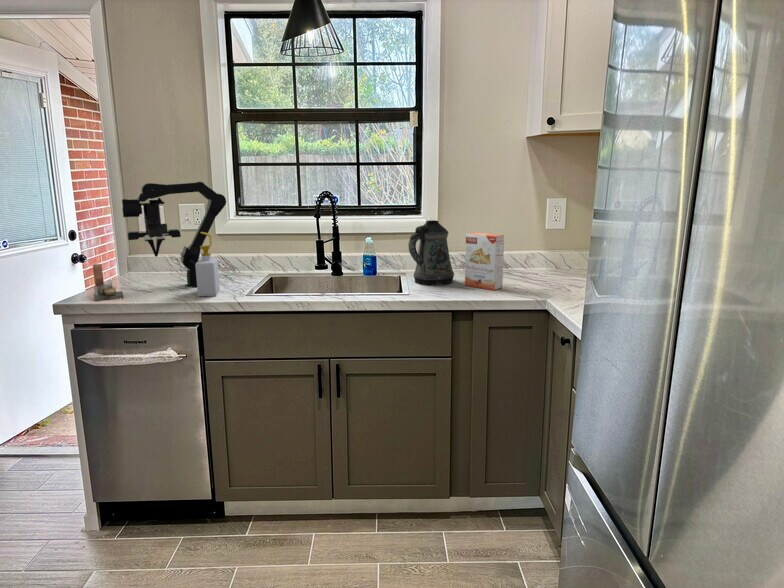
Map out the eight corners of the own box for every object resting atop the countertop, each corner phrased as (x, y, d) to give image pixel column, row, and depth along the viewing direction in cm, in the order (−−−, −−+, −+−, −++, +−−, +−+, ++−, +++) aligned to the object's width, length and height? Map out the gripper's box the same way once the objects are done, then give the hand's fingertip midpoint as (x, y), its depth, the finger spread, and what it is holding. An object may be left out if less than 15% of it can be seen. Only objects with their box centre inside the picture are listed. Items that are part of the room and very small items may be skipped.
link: (118, 294, 211) (115, 267, 209) (108, 295, 208) (105, 268, 206) (103, 289, 219) (100, 263, 217) (93, 291, 216) (90, 265, 214)
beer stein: (459, 279, 238) (460, 219, 233) (441, 288, 222) (442, 224, 216) (423, 276, 246) (423, 218, 240) (403, 285, 229) (403, 222, 223)
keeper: (112, 292, 216) (111, 277, 215) (113, 295, 211) (111, 280, 209) (94, 293, 214) (93, 279, 212) (95, 297, 208) (93, 282, 207)
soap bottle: (202, 290, 223) (197, 230, 217) (220, 289, 224) (215, 229, 219) (197, 297, 211) (192, 234, 206) (216, 296, 212) (211, 233, 207)
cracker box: (464, 286, 226) (465, 233, 222) (473, 283, 231) (474, 231, 226) (494, 290, 217) (496, 235, 212) (502, 288, 221) (504, 234, 217)
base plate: (122, 293, 218) (122, 291, 218) (123, 298, 210) (123, 295, 210) (94, 296, 214) (94, 293, 214) (94, 301, 206) (94, 298, 206)
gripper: (126, 219, 209) (131, 261, 212) (180, 216, 217) (184, 257, 220) (125, 216, 218) (129, 257, 222) (176, 214, 227) (180, 253, 230)
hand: (156, 256), depth 223 cm, fingers closed
